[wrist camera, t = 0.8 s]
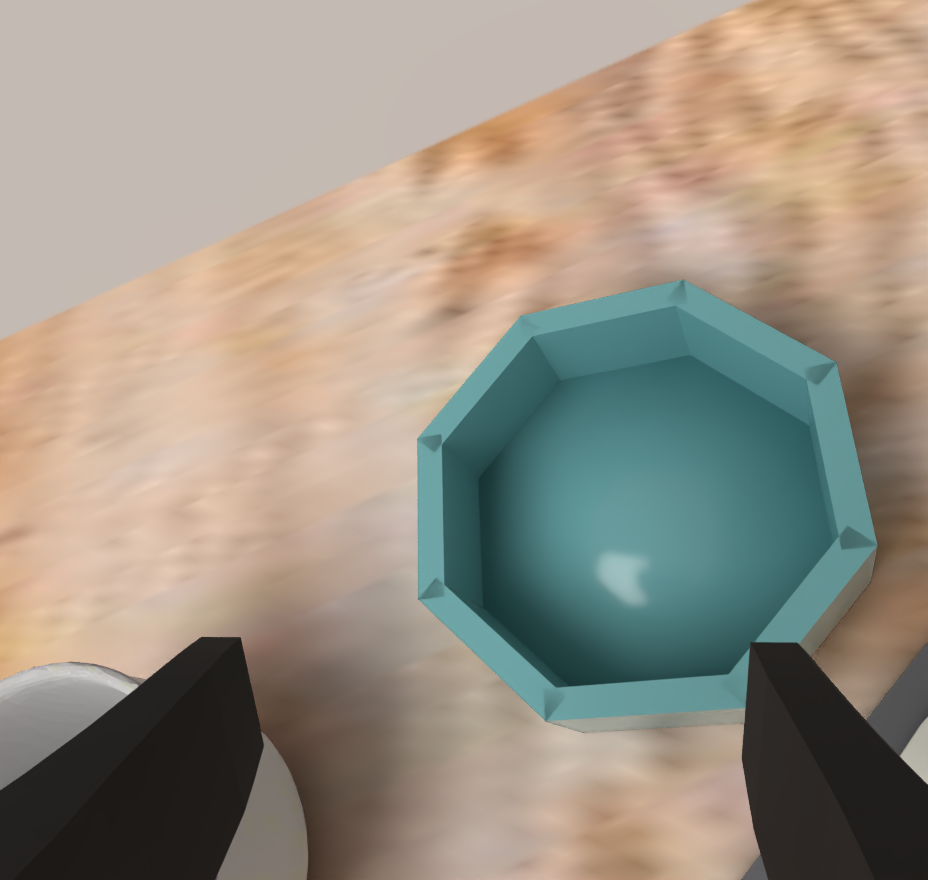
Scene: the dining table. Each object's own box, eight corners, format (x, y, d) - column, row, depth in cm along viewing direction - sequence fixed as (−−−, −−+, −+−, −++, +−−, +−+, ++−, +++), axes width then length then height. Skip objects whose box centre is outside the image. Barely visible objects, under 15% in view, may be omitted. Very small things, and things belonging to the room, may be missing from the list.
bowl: (947, 485, 24) (967, 432, 21) (679, 823, 24) (654, 825, 20) (619, 295, 31) (592, 230, 27) (398, 559, 30) (342, 527, 26)
